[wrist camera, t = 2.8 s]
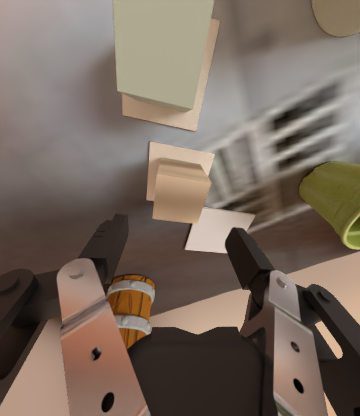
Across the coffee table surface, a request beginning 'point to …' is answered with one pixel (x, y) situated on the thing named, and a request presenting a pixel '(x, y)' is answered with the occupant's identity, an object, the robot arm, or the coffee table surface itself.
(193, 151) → the code tile
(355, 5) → the can
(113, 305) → the mug
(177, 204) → the beech block
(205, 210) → the felt pad
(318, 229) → the coffee table surface
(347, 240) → the plant pot
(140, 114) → the code tile
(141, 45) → the sage block
